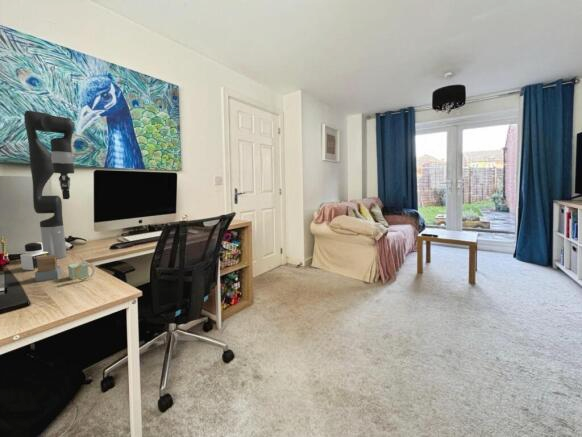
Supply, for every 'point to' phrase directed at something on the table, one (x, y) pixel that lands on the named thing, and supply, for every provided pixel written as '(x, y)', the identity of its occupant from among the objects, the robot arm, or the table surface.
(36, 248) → the medicine bottle
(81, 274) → the sage cube
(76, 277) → the bracelet
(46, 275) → the base block
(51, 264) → the walnut cube
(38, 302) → the table surface
